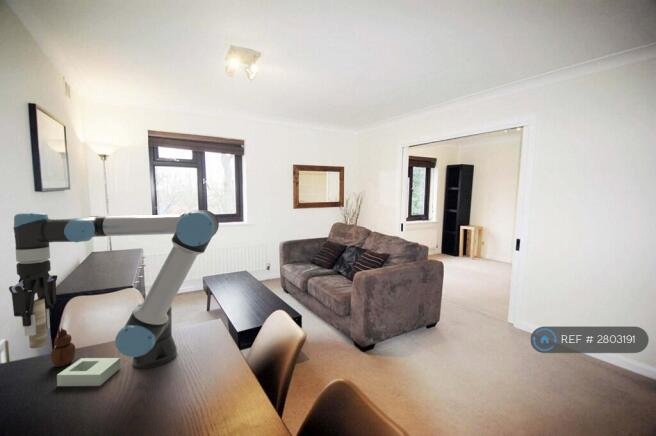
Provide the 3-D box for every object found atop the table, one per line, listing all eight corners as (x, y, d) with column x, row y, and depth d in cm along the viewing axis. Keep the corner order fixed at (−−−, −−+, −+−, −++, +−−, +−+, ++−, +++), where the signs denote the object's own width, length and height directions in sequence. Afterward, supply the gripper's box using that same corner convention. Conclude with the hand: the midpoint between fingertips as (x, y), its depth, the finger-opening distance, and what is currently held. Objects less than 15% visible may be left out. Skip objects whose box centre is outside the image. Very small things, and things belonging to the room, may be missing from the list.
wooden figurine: (59, 370, 103) (58, 331, 102) (47, 368, 104) (45, 329, 103) (79, 360, 110) (78, 323, 109) (67, 358, 111) (66, 321, 110)
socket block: (120, 368, 105) (120, 357, 105) (100, 385, 95) (99, 374, 95) (81, 368, 104) (81, 358, 104) (57, 386, 94) (56, 374, 94)
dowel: (50, 342, 93) (48, 298, 92) (38, 348, 90) (36, 302, 89) (38, 342, 93) (35, 298, 92) (25, 348, 89) (23, 302, 88)
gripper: (46, 255, 98) (50, 320, 99) (-10, 267, 81) (-4, 345, 82) (69, 255, 98) (72, 320, 100) (18, 267, 81) (22, 344, 83)
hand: (37, 331), depth 91 cm, fingers closed on dowel, 4 cm apart
